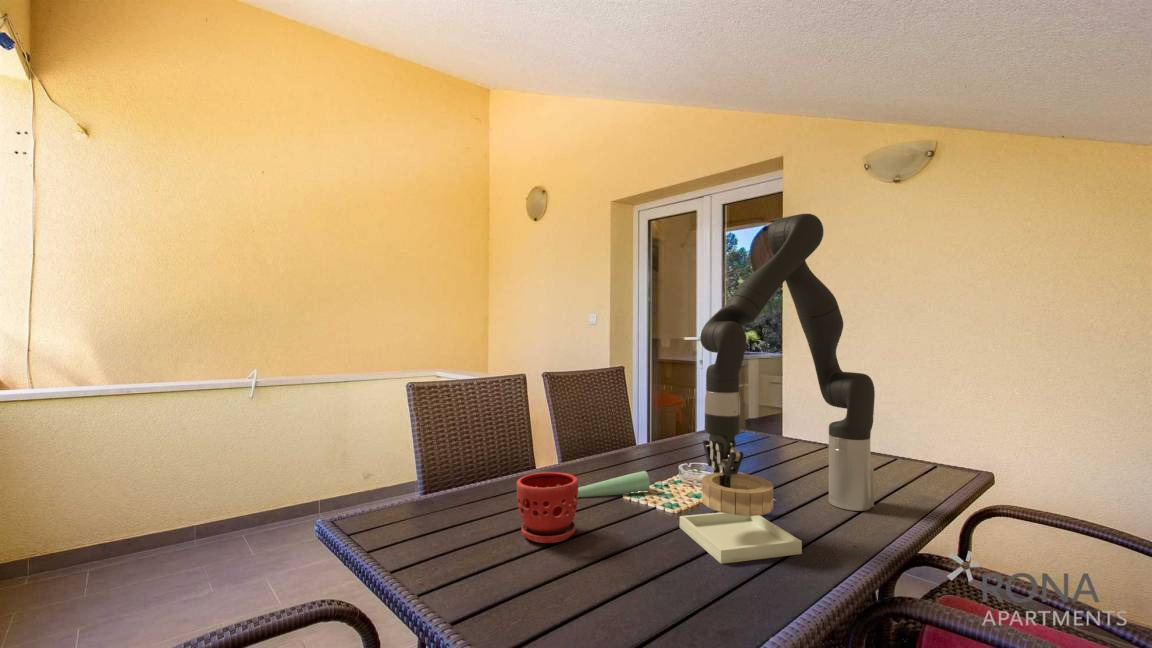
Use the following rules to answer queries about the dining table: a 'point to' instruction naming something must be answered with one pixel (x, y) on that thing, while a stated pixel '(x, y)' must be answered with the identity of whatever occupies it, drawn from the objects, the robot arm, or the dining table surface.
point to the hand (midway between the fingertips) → (721, 489)
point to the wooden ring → (738, 495)
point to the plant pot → (547, 506)
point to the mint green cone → (617, 485)
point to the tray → (739, 537)
